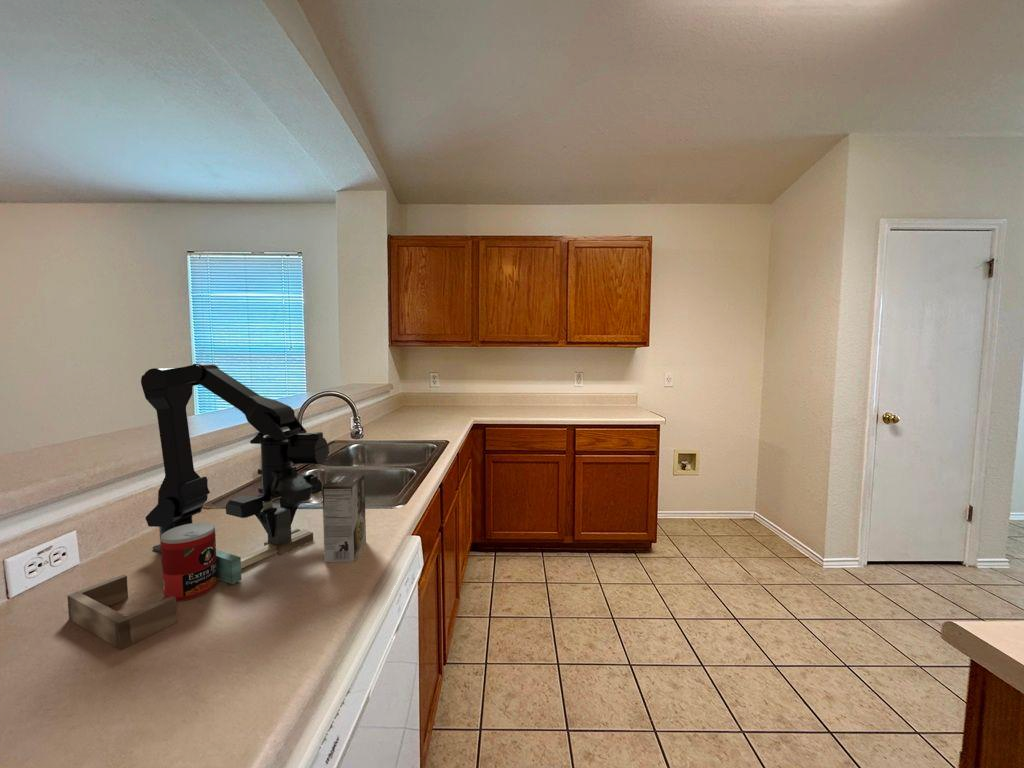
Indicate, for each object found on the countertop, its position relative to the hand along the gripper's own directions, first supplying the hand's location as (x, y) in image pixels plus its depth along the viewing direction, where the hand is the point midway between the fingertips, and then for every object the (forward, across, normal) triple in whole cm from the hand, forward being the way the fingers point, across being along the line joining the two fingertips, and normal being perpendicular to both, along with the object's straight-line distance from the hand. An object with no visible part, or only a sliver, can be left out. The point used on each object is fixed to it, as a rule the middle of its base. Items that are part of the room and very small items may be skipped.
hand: (279, 533), depth 90 cm
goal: (+3, -27, 0) cm, 27 cm away
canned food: (+4, -17, 0) cm, 18 cm away
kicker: (+3, -3, 0) cm, 5 cm away
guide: (+4, +2, 0) cm, 4 cm away
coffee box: (+4, +5, -14) cm, 15 cm away
